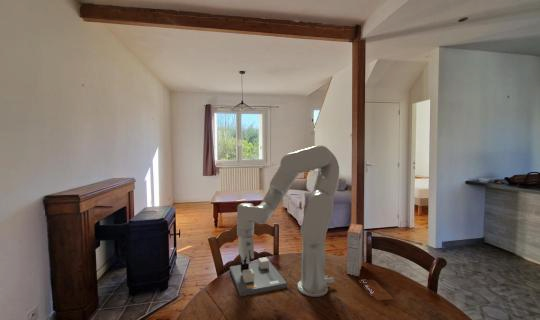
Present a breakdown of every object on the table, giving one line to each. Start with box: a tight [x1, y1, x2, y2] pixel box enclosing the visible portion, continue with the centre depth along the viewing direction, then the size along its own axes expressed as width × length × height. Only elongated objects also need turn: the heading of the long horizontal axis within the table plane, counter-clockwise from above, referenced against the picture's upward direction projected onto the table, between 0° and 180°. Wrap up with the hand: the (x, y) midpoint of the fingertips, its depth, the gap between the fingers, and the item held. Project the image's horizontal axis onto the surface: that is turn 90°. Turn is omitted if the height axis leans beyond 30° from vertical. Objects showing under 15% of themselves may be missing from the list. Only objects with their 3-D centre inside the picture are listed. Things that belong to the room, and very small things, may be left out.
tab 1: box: [243, 269, 254, 283], centre depth 104 cm, size 4×4×4 cm
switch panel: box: [229, 260, 288, 297], centre depth 110 cm, size 20×22×2 cm
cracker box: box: [346, 223, 364, 277], centre depth 120 cm, size 14×6×21 cm, turn 154°
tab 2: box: [257, 256, 270, 269], centre depth 116 cm, size 4×4×4 cm
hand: (244, 271), depth 110 cm, fingers closed
